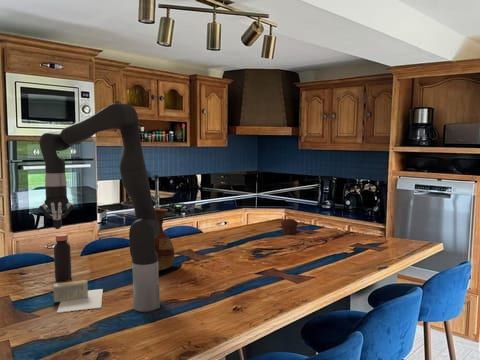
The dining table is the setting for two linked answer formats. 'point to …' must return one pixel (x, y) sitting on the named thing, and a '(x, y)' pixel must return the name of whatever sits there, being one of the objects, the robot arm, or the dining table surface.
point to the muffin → (289, 226)
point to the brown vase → (163, 244)
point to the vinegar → (62, 258)
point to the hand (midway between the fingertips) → (57, 228)
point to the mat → (82, 302)
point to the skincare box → (70, 290)
